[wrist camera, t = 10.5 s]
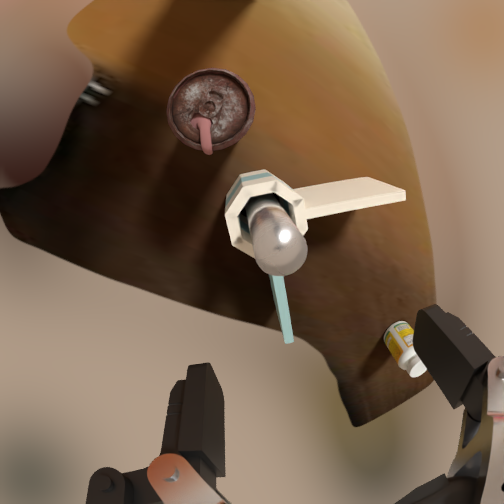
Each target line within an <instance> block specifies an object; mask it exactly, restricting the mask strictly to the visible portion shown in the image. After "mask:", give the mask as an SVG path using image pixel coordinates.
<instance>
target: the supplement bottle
mask: <svg viewBox="0 0 504 504" xmlns="http://www.w3.org/2000/svg"><path fill="white" fill-rule="evenodd" d="M413 334H414V331H413V329H412V328H411V327H410V326H409V324H408V323H407V322H405V321H399V322H396V323H394V324H392V325H391V326H390V327H389V328H388V329H387V331H386V332H385V335H384V342H385V344H386V346H387V347H388V349H389V350H390V352H391V354H392V355H393V357H394V358H395V360H396V362H397V363H398V365H399V367H400V368H402V369H404V370H407V372H408V373H409V375H410V376H411V377H417V376H420V375H421V374H423V373H424V372H425V371H426V370H427V368H426V367H425V365H424V364H423V363H422V361H421V360H420V358H419V357H418V355H417V354H416V353H415V350H414V348H413Z"/></svg>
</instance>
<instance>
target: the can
mask: <svg viewBox="0 0 504 504" xmlns="http://www.w3.org/2000/svg"><path fill="white" fill-rule="evenodd" d="M254 114H255V102H254V96H253V94H252V92H251V90H250V88H249V86H248V84H247V83H246V82H245V81H244V80H243V79H241V78H240V77H239V76H238V75H236V74H234V73H232V72H230V71H228V70H225V69H217V68H208V69H202V70H198V71H195V72H193V73H191V74H189V75H187V76H186V77H184V78H183V79H182V80H181V81H180V82H179V83H178V84H177V85H176V86H175V88H174V90H173V91H172V93H171V95H170V97H169V100H168V105H167V118H168V124H169V126H170V128H171V130H172V131H173V133H174V135H175V136H176V137H177V138H178V139H179V140H180V141H181V142H182V143H183V144H185V145H187V146H189V147H192V148H194V149H196V150H203V152H204V153H205V154H208V155H211V154H212V153H213V151H215V150H221V149H225V148H227V147H229V146H231V145H233V144H235V143H237V142H238V141H239V140H240V139H241V138H242V137H243V136H244V135H245V134H246V133H247V131H248V130H249V128H250V126H251V124H252V123H253V119H254Z"/></svg>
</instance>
